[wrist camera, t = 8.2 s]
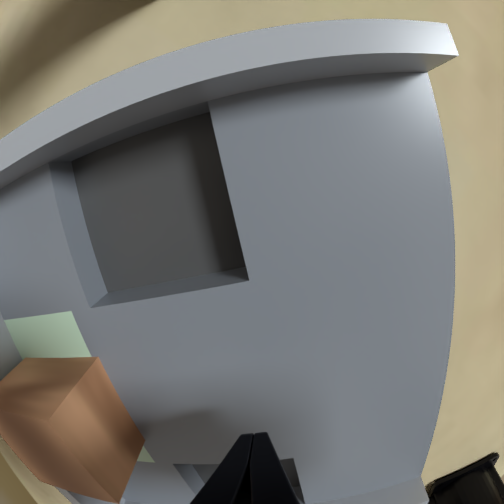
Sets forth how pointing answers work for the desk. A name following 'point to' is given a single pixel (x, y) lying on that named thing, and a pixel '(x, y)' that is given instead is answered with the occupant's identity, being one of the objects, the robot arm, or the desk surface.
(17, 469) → the desk surface
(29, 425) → the block
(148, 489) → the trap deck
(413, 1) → the desk surface
